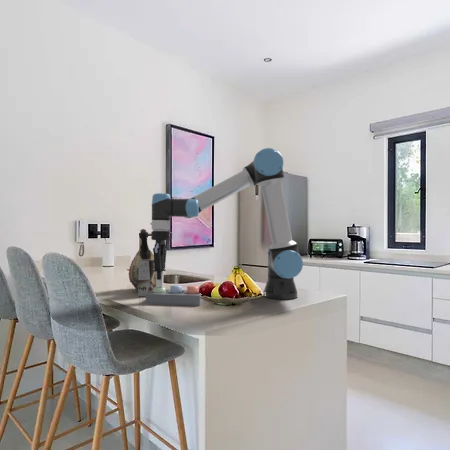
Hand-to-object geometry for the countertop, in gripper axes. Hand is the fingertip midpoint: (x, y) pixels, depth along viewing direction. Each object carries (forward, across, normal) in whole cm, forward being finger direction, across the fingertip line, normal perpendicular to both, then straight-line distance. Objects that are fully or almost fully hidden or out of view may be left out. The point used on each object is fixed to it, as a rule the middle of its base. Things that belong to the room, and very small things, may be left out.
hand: (159, 287), depth 148 cm
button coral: (+3, 0, +14) cm, 15 cm away
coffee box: (+6, -13, -9) cm, 17 cm away
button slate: (+3, 0, +7) cm, 8 cm away
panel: (+6, 0, +7) cm, 9 cm away
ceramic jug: (+6, -23, -14) cm, 28 cm away
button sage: (+4, 0, 0) cm, 4 cm away
